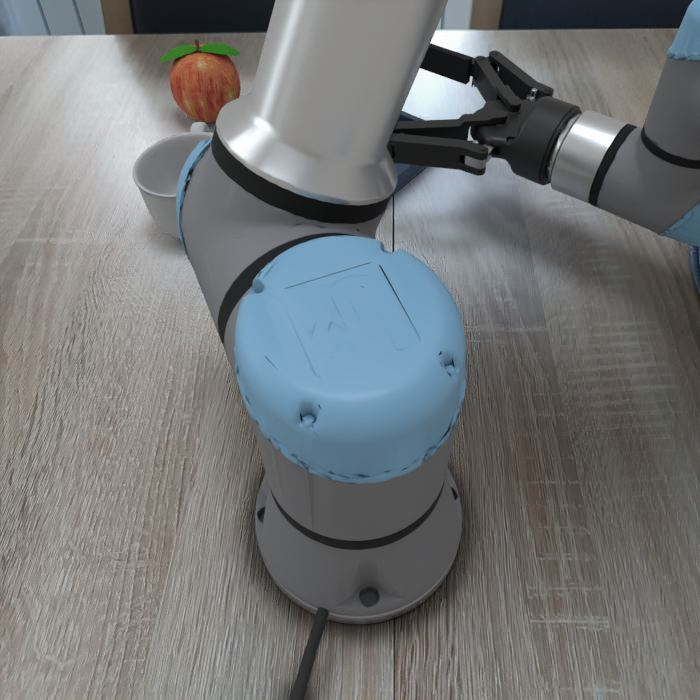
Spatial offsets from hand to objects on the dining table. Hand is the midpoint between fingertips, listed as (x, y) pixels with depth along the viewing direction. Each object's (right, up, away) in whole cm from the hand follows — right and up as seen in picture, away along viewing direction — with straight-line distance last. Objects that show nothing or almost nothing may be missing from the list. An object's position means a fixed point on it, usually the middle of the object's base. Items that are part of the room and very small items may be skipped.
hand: (381, 79), depth 69 cm
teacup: (-19, -13, +4) cm, 24 cm away
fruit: (-22, +2, +16) cm, 27 cm away
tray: (-3, -5, +10) cm, 11 cm away
